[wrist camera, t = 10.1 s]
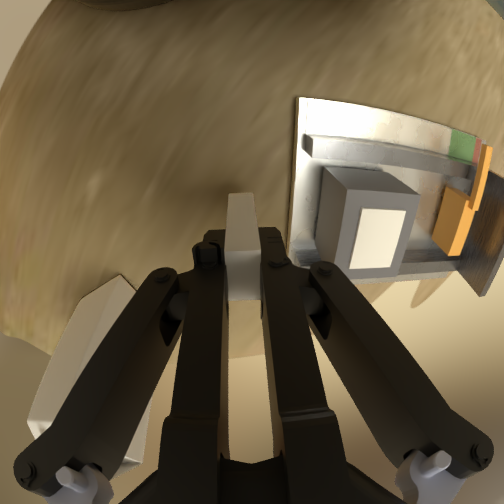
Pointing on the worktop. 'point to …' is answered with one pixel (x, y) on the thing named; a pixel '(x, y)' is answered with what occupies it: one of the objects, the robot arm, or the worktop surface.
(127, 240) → the worktop surface
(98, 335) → the milk carton
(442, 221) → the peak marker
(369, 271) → the grey block
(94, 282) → the worktop surface
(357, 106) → the gauge bed
